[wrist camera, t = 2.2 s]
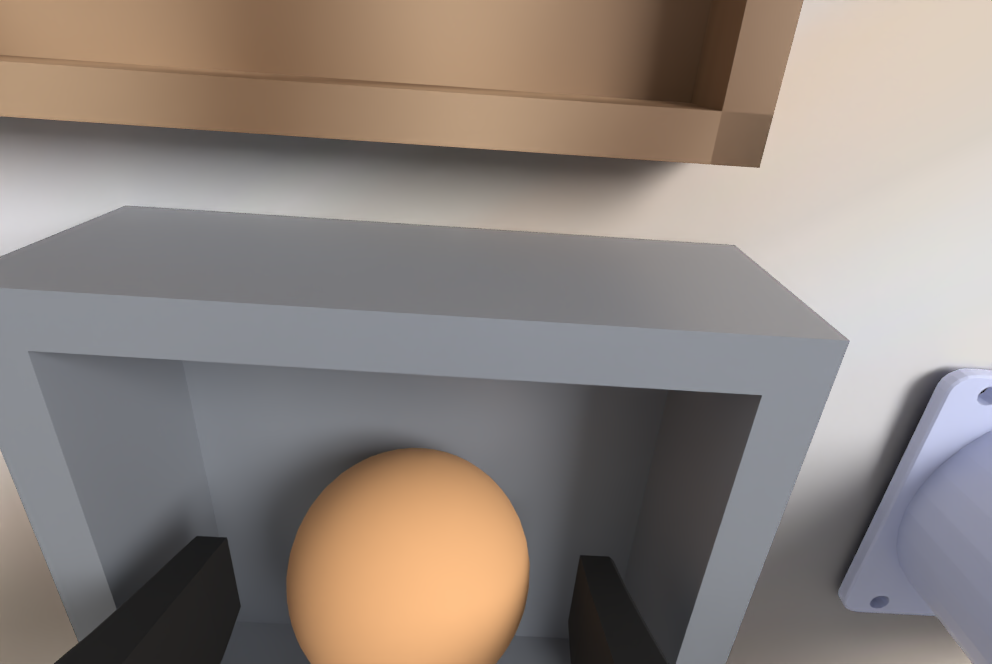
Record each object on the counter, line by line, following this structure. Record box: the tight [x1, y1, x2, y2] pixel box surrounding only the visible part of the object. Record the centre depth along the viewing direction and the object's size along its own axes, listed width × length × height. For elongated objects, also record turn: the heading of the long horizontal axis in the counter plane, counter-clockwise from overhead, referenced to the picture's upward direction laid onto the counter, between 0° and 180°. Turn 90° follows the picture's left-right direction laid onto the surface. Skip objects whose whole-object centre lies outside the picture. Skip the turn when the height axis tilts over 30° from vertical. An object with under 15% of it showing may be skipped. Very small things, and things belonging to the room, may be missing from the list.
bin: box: [0, 206, 849, 664], centre depth 13 cm, size 13×13×4 cm
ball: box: [286, 448, 530, 664], centre depth 12 cm, size 5×5×5 cm
